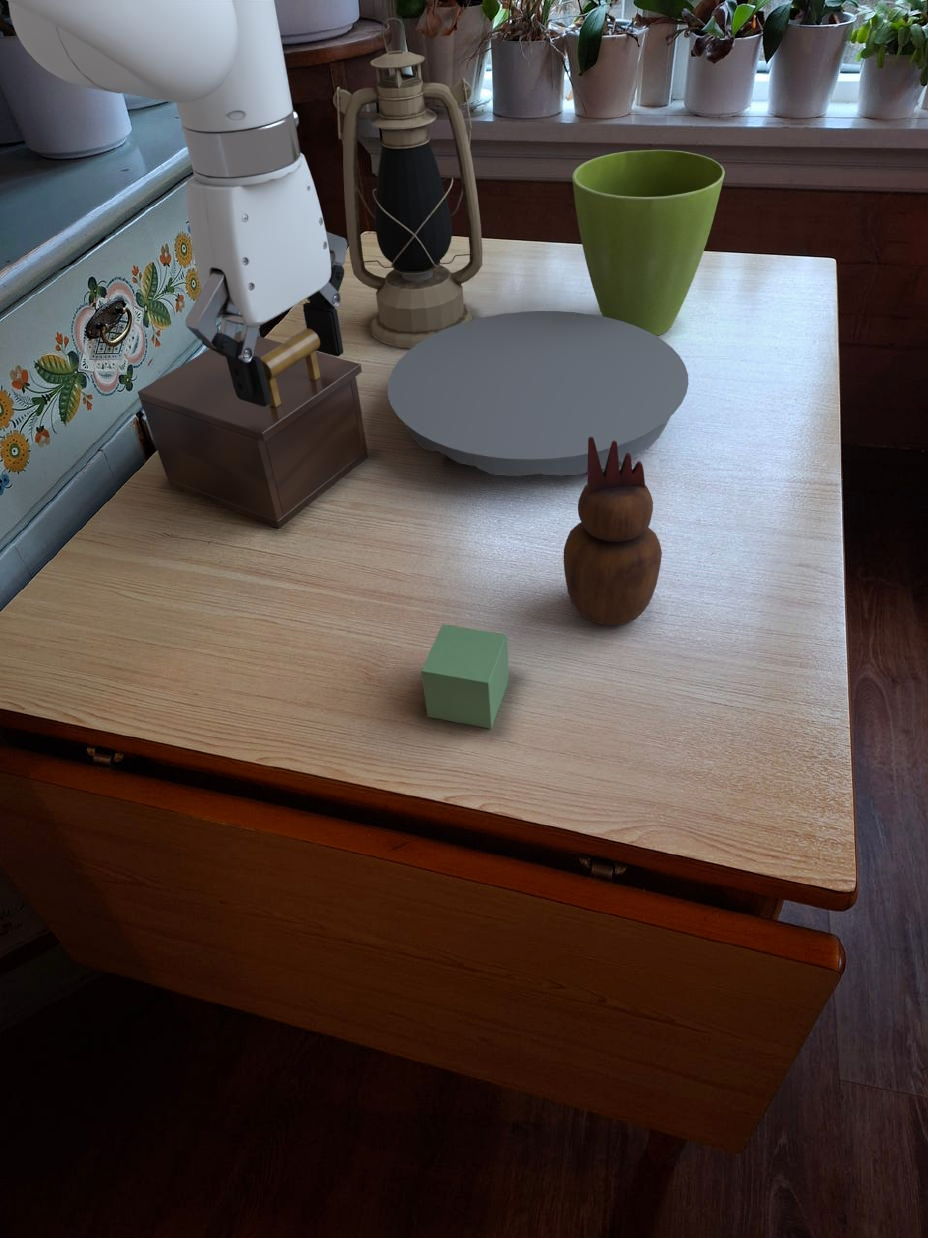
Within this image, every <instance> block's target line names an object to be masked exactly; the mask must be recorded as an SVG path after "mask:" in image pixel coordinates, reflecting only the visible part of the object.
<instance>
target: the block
mask: <svg viewBox="0 0 928 1238" xmlns="http://www.w3.org/2000/svg"><path fill="white" fill-rule="evenodd" d="M508 650H509V649H508V635H507V634H505V633H498V632H493V631H486V630H481V629H475V628H468V627H462V626H456V625H450V624H442V625H441V627H440V630H439V632H438V633H437V636H436V638H435V640H434V643H433V644H432V646H431V649H430V651H429V653H428V656H427V657H426V660H425V662H424V664H423V666H422V669H421V671H420V672H421V678H422V686H423V692H424V693H423V694H424V701H425V707H426V715H427V717H428V718H432V719H438V720H442V721H449V722H453V723H458V724H463V725H468V726H474V727H480V728H484V729H489V730H492V728H493V726H494V723H495V720H496V718H497V715H498V712H499V710H500V708H501V707H500V706H501V704H502V701H503V698H504V697H505V696H504V695H505V692H506V691H507V687H508V684H509V681H510V678H509V677H510V676H509V653H508V652H509V651H508Z"/></svg>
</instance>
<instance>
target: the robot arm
mask: <svg viewBox="0 0 928 1238" xmlns="http://www.w3.org/2000/svg"><path fill="white" fill-rule="evenodd" d="M6 1H7V2H8V9H9V10H8V11H9V17H10V20H11V22H12V26H13V29H14V31H15V33H16V36H17V38H18V39H19V41H20V43H21V45H22V46H23V48H24V49H25V51H26V52H27V53H28V54H29V55H30V57H32V59H33V60H34V61H35V62H36V63H37V64H39V65H40V66H41V67H42V68H43V69H45V70H46V71H47V72H49V73H50V74H52V75H54V76H56V77H57V78H59V79H61V80H63V81H65V82H68V83H70V84H72V85H75V86H79V87H82V88H87V89H91V90H93V89H94V90H98V91H102V92H103V91H104V92H109V93H115V94H125V95H131V96H137V97H141V98H147V99H152V100H157V101H163V102H167V103H174V104H176V108H177V112H178V116H179V120H180V123H181V127H182V132H183V136H184V139H185V144H186V148H187V152H188V156H189V160H190V165H191V167H192V172H193V177H191V178H190V179H189V178H188V180H186V204H187V205H186V206H187V218H188V226H189V234H190V241H191V247H192V253H193V258H194V263H195V269H196V274H197V278H198V279H197V280H198V283H199V288H200V293H199V295H198V297H197V299H196V300H195V302H194V304H193V306H192V307H191V309H190V311H189V312H188V314H187V316H186V318H185V326H186V328H187V329H188V330H189V331H190V332H191V333H192V334H193V335H194V336H195V337H196V338H197V339H198V340H200V341H201V343H202V345H203V346H204V347H206V348H207V349H212V350H213V351H215V352H217V353H218V354H219V355H221V356H225V357H226V359H227V363H228V367H229V371H230V375H231V378H232V382H233V386H234V390H235V392H236V395H237V397H238V398H239V399H241V400H244V401H247V402H250V403H253V404H257V405H260V406H263V407H265V406H266V405H268V404H269V403H270V400H271V398H270V394H269V389H268V385H267V381H266V377H265V372H264V368H263V364H262V360H261V359H260V357H257V356H254V351H255V346H256V342H257V337H258V336H259V333H260V328H261V326H262V325H264V324H266V323H268V322H269V321H271V320H273V319H275V318H277V317H278V316H280V315H282V314H283V313H285V312H286V311H288V310H290V309H293V307H295V306H297V305H299V304H300V303H301V302H303V301H305V300H307V301H306V302H305V303H303V304H302V308H303V310H302V311H303V315H304V322H305V327H306V329H311V330H313V331H314V332H315V333H316V334H317V335H318V337H319V340H320V346H319V348H318V349H317V350H316V352H318V353H322V354H325V355H329V356H333V357H336V358H339V357H340V356H342V355H343V354H344V346H343V337H342V333H341V326H340V321H339V315H338V314H339V313H338V307H339V306H340V304H341V302H342V296H341V293H340V288H341V287H342V283H343V280H344V278H345V268H344V266H345V263H346V256H347V251H348V246H349V244H348V239H346V238H345V237H342V236H339V235H337V234H334V233H331V232H329V231H327V230H326V225H325V221H324V216H323V213H322V209H321V205H320V204H321V203H320V200H319V197H318V194H317V193H318V192H317V190H316V186H315V182H314V179H313V177H312V174H311V171H310V168H309V165H308V162H307V159H306V157H305V154H303V153H302V152H301V149H300V143H299V137H298V132H297V128H298V126H299V125H300V120H299V119H300V118H299V116H298V113H297V112H296V111H295V110H294V108H293V103H292V102H293V101H292V95H291V91H290V85H289V78H288V73H287V72H288V71H287V67H286V61H285V55H284V50H283V49H284V48H283V43H282V38H281V32H280V27H279V26H280V25H279V22H278V15H277V14H278V13H277V9H276V4H275V0H6ZM343 265H344V266H343ZM336 308H337V309H336ZM239 313H240V314H239ZM217 318H221V321H220V324H219V327H218V325H217V322H216V320H217ZM238 325H241V326H242V328H241V331H240V332H241V337H240V341H239V342H238V341H236V340H235V334H236V333H237V329H238Z"/></svg>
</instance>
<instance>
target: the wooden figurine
mask: <svg viewBox="0 0 928 1238" xmlns="http://www.w3.org/2000/svg"><path fill="white" fill-rule="evenodd" d="M621 463H622V462H621ZM632 463H633V462H632V458H631V455H630V453H626V455H625V458H624V461H623V463H622V464H621V467H620V461H619V460H618V450H617V442H616V441H612V444H611V447H610V451H609V455H608V459H607V463H606V467H605V468H604V469H602V468H601V464H600V460H599V457H598V453H597V449H596V445H595V442H594V438H593V437H589V438H588V470H587V472H586V474H587V475H586V476H587V479H586V480H587V483H586V484H585V485H584V486H583V489H582V491H581V493H580V496H579V498H578V502H577V512H578V514H577V515H578V517H579V520H580V522H579V523H577V524H576V525H575V526H574V527H573V528H572V529H571V530H570V531H569V533H568V535H567V538H566V540H565V543H564V547H563V571H564V578H565V584H566V589H567V594H568V597H569V600H570V602H571V604H572V605H573V607H574V608H575V609H576V611H577V612H578V613H579V614H580V615H581V616H582V617H584V618H586V619H587V620H590V621H592V622H594V623H597V624H600V625H605V626H616V625H625V624H627V623H630V622H632V621H634V620H636V619H638V618H639V617H640V616H641V614H643V612H644V611H645V610H646V609H647V608H648V607H649V605H650V603H651V601H652V599H653V595H654V594H655V590H656V587H657V584H658V580H659V574H660V569H661V565H662V557H663V551H662V547H661V543H660V540H659V538H658V536H657V534H656V532H655V531H654V530H653V529H651V528H650V524H651V520H652V516H653V511H654V500H653V498H652V494H651V492H650V490H649V488H648V486H647V485H646V480H645V472H644V466H643V463H642V461H641V460H638V461H637V462H636V463H635V464H634V466H633V464H632ZM632 466H633V467H632ZM603 470H604V471H603Z"/></svg>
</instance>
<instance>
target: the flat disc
mask: <svg viewBox="0 0 928 1238" xmlns="http://www.w3.org/2000/svg"><path fill="white" fill-rule="evenodd" d="M386 389H387V397H388V400H389V404H390V407H392V410H393V411H394V413H395V414H396V415H397V417H398V418H399V419H400V420H401V421H402V422H403V423H404V425H405V427H406V430H407V431H408V432H409V434H410V435H411V437H412V439H414V440H415V442H416V443H417V444H418V446H420V447H421V448H422V449H425V450H426V451H429V452H436V451H437V452H439V453H440V454H443V455H445V456H446V457H447V458H449V459H450V460H452V461H453V462H454V461H455V463H457V464H460V465H468V466H472V467H476V468H477V469H479V470H481V471H483V472H486V473H488V474H490V475H494V476H495V475H496V476H497V475H498V476H508V477H509V476H510V477H513V476H517V477H523V476H531V475H536V474H539V475H541V474H542V475H544V476H578V475H582V474H587V470H588V438H589V437H593V438H594V442H595V445H596V449H597V453H598V457H599V460H600V464H601V468H602V470H604V469H605V467H606V463H607V459H608V455H609V451H610V447H611V444H612V441H616V442H617V450H618V460H619V463H623V461H624V458H625V455H626V453H630V455H631V459H635V458H638V457H639V456H640V455H641V454H642V453H643V452H645V451H646V450H648V449H650V448H651V446H653V445H654V444H655V442H657V441H658V440H659V439H660V437H661V435H662V433H663V432H664V430H666V427H667V425H668V423H669V421H670V419H671V417H672V416H673V415H674V414H675V412H676V411H677V410H678V409H679V408H680V407H681V405H682V404H683V402H684V400H685V398H686V396H687V393H688V389H689V373H688V371H687V366H686V364H685V363H684V361H683V360H682V358H681V356H680V355H679V354H678V352H676V350H675V349H674V348H673V347H672V346H670V344H668V343H667V342H666V341H665V340H663V339H662V338H660V337H658V336H655V335H653V334H652V333H650V332H648V331H646V330H643V329H641V328H639V327H637V326H634V325H631V324H628V323H625V322H623V321H619V320H615V319H611V318H608V317H603V316H602V315H598V314H591V313H585V312H584V313H583V312H577V311H565V310H564V311H563V310H562V311H561V310H529V311H528V310H527V311H515V312H506V313H500V314H494V315H489V316H485V317H479V318H474V320H471V321H468V322H464V323H461V324H458V325H455V326H452V327H450V328H447V329H445V330H442V331H440V332H438V333H436V334H434V335H432V336H430V337H428V338H426V339H425V340H423V341H421V342H420V343H418V344H417V345H415V346H414V347H413V348H411V349H409V350H408V351H406V352H405V353H404V354H403V356H402V357H400V359H398V361H397V362H396V364H395V365H394V367H393V368H392V370H391V372H390V375H389V377H388V382H387V387H386Z"/></svg>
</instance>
